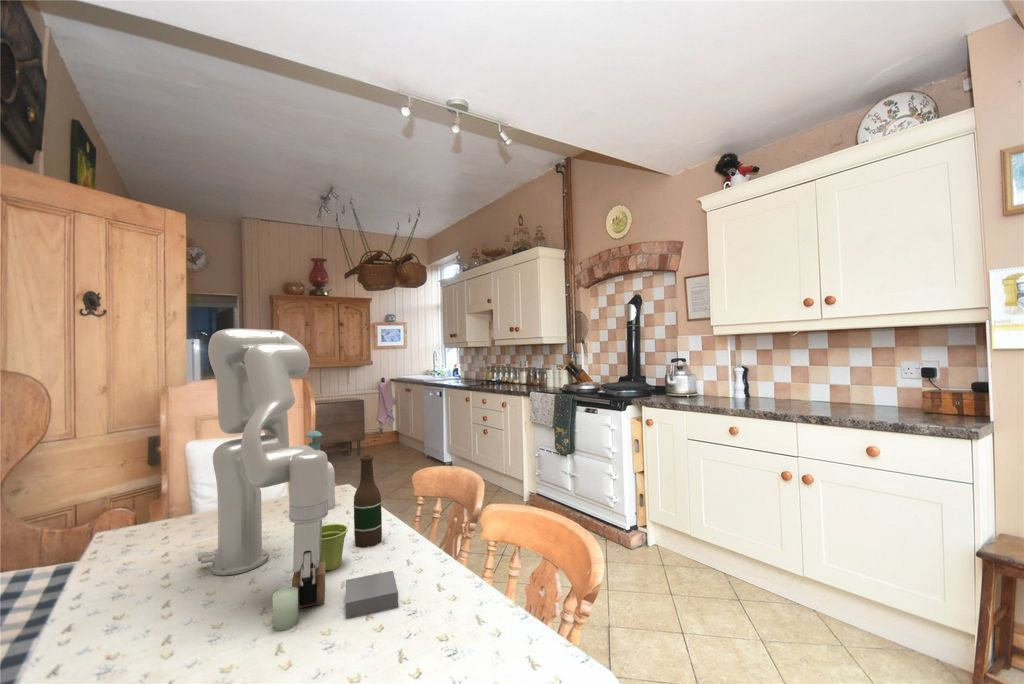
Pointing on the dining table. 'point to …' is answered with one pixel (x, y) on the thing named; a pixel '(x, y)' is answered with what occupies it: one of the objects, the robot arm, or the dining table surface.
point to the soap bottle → (331, 475)
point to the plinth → (371, 594)
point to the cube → (318, 578)
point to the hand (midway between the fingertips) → (309, 594)
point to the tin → (285, 608)
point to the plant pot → (332, 545)
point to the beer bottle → (367, 507)
